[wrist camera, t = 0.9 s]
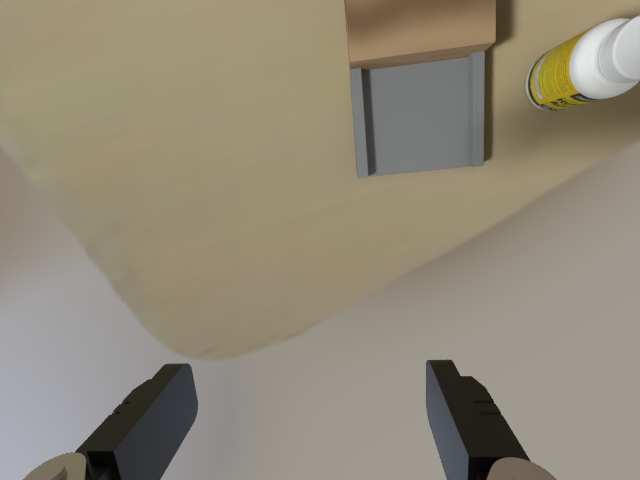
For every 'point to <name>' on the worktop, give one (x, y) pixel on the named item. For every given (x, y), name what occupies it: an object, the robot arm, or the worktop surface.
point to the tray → (419, 116)
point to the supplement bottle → (587, 67)
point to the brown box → (416, 31)
